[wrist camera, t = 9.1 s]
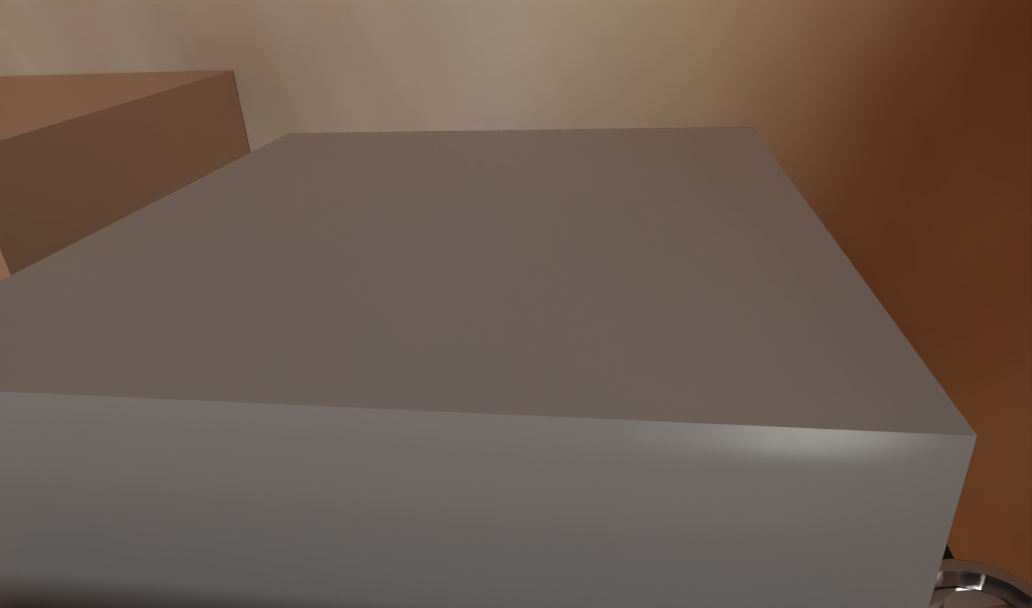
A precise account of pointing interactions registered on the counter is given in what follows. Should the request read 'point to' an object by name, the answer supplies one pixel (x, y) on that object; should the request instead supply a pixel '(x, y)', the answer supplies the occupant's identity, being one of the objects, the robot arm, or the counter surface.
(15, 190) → the tan cardboard-coloured box
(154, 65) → the counter surface
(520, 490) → the grey open box
